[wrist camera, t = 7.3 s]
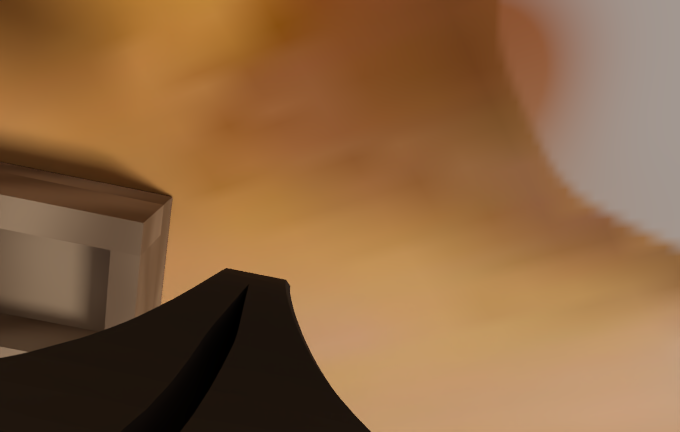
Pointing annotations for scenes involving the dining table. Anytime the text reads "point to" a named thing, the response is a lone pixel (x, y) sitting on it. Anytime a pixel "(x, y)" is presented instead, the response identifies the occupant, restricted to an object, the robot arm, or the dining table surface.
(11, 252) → the wooden tray
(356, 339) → the dining table surface
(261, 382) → the robot arm
